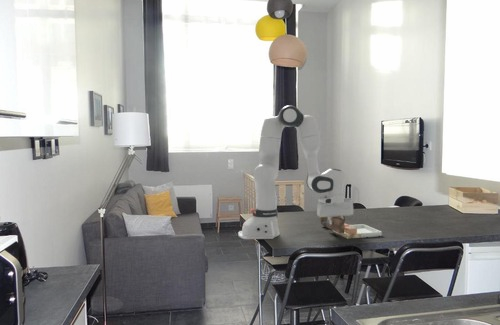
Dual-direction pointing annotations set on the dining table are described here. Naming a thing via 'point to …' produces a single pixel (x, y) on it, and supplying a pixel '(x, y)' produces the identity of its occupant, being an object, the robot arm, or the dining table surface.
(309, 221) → the dining table surface
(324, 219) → the tin
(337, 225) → the tall tan block
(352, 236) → the board
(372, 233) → the tray
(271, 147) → the robot arm
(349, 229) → the tile
